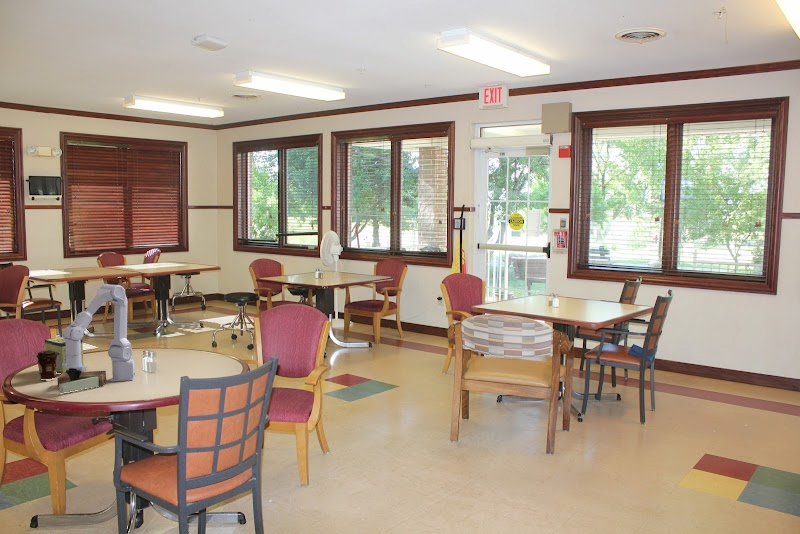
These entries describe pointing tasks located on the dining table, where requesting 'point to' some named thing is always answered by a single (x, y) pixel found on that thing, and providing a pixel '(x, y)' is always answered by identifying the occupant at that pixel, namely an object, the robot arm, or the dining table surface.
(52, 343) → the protein box
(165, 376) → the dining table surface
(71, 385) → the pale green bar
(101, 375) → the walnut box
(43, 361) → the coffee cup
